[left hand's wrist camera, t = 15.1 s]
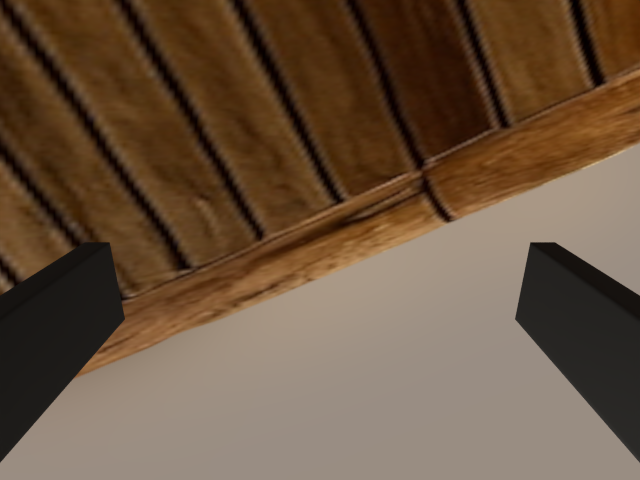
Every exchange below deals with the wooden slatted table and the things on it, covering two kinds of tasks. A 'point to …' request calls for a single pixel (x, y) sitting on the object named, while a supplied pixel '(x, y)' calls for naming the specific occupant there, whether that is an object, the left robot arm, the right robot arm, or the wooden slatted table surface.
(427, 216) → the wooden slatted table surface
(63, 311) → the left robot arm
